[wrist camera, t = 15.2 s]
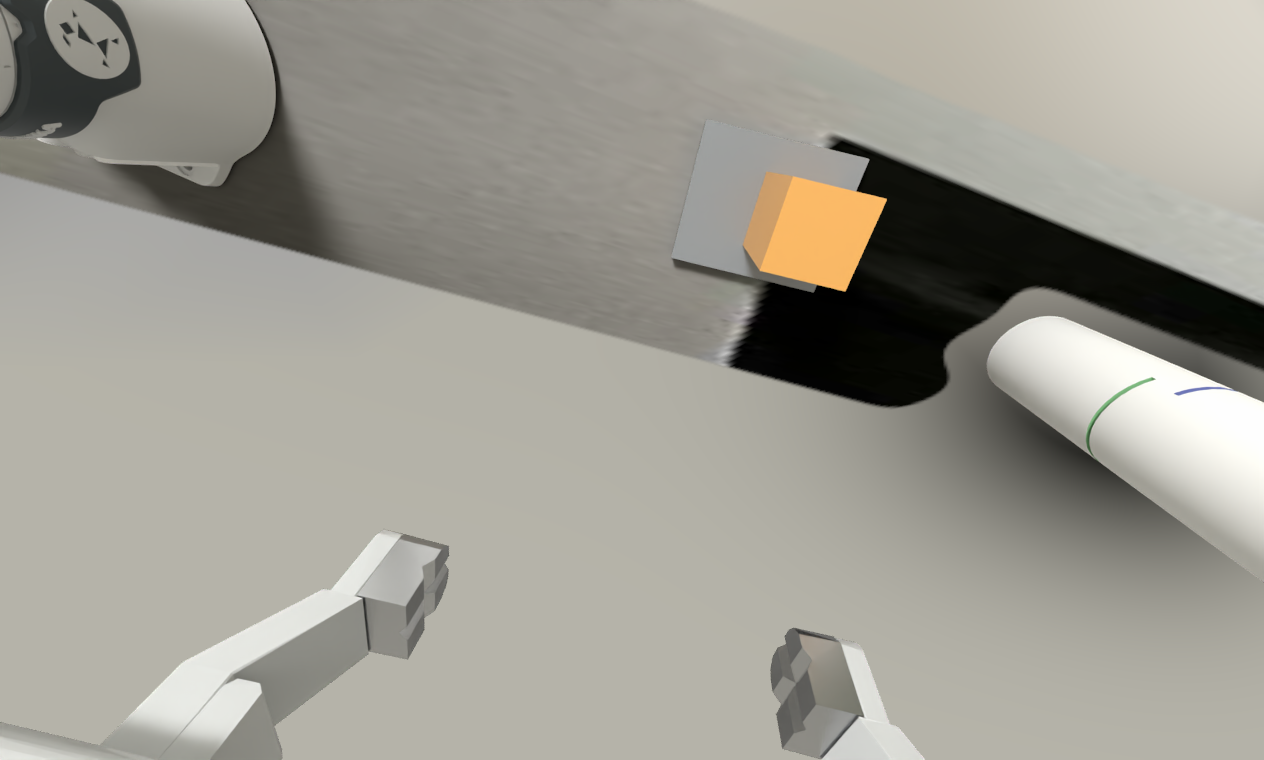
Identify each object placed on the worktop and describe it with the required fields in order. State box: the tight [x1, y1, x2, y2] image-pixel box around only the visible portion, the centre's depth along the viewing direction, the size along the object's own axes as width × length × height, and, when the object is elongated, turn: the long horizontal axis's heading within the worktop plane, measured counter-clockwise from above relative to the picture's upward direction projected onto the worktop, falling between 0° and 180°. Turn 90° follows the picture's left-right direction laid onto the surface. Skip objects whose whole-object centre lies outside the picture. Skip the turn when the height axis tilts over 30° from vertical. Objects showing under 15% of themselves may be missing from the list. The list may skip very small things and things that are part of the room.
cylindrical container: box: [987, 316, 1264, 582], centre depth 27 cm, size 7×7×25 cm
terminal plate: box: [671, 119, 869, 293], centre depth 34 cm, size 12×10×1 cm
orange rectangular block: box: [743, 172, 887, 291], centre depth 30 cm, size 5×5×9 cm
